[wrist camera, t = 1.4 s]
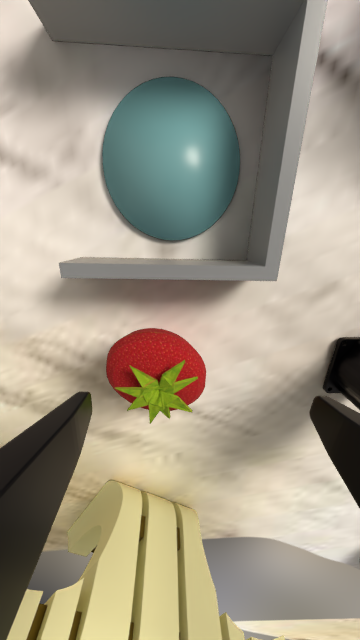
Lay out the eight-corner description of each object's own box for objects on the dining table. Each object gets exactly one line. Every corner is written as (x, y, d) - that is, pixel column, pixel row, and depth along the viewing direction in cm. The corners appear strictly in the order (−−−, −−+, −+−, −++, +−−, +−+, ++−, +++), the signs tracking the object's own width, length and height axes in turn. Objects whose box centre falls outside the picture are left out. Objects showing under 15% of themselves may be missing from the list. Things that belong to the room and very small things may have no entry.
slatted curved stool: (249, 517, 32) (333, 811, 16) (189, 568, 37) (205, 840, 20) (53, 441, 25) (-163, 827, 9) (7, 515, 30) (-195, 865, 13)
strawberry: (132, 297, 20) (99, 352, 10) (208, 325, 21) (238, 396, 12) (113, 351, 22) (71, 439, 12) (184, 373, 23) (194, 469, 14)
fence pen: (256, 272, 19) (276, 280, 16) (82, 269, 19) (61, 277, 15) (290, 35, 14) (334, -38, 10) (49, 17, 13) (2, -68, 10)
